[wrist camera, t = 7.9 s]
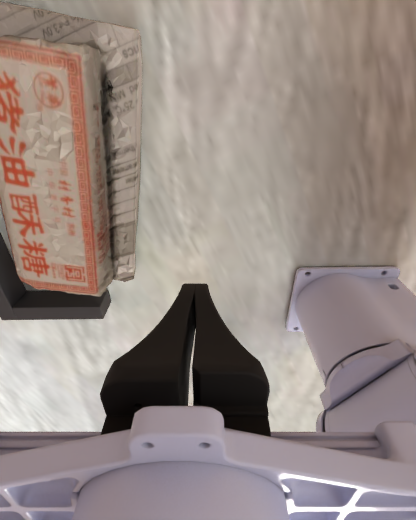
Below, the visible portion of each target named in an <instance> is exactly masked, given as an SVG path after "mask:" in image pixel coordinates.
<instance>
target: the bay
mask: <svg viewBox="0 0 416 520" xmlns="http://www.w3.org/2000/svg"><path fill="white" fill-rule="evenodd" d="M110 303H111V299H110V295H109V291H108V290H106V291H105V292H103V294H102V295H101V296H100V297H98V296H92V295H83V294H80V295H79V294H73V293H67V292H63V291H26V288H25V286H24V284H23V282H22V281H21V280H20V278H19V276H18V274H17V271H16V266H15V264H14V262H13V260H12V258H11V255H10V253H9V251H8V249H7V247H6V245H5V242H4V240H3V238H2V236H1V234H0V317H1V319H2V320H40V319H103V318H104V316H105V314H106V312H107V309H108V307H109V305H110Z"/></svg>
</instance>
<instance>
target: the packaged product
mask: <svg viewBox="0 0 416 520" xmlns="http://www.w3.org/2000/svg"><path fill="white" fill-rule="evenodd" d="M141 115H142V51H141V36H140V32H139V30H137V29H133V28H129V27H124V26H120V25H116V24H110V23H105V22H100V21H94V20H89V19H83V18H78V17H73V16H69V15H64V14H60V13H56V12H52V11H47V10H42V9H37V8H31V7H26V6H21V5H16V4H10V3H5V2H0V203H1V208H2V212H3V216H4V220H5V223H6V229H7V231H8V237H9V241H10V245H11V250H12V254H13V258H14V262H15V266H16V271H17V274H18V276H19V278H20V280H21V281H22V282H25V283H26V284H28V285H31V286H32V287H33V288H35V289H38V290H42V289H48V290H52V291H63V292H67V293H73V294H79V295H80V294H83V295H92V296H98V297H100V296H101V295H102V294H103V292H105V291H106V287H107V286H108V285H109V284H110V283H111V282H112V280H120V281H123V282H126V281H129V280H131V279H134V274H135V241H136V230H137V219H138V205H139V190H140V163H141Z"/></svg>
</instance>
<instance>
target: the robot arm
mask: <svg viewBox="0 0 416 520" xmlns="http://www.w3.org/2000/svg"><path fill="white" fill-rule="evenodd" d="M383 271H384V272H383ZM306 272H309V273H308V274H305V273H306ZM382 272H383V273H382ZM399 274H400V269H399V268H397V267H395V266H388V267H304V268H299V269H298V270H297V271H296V275H295V280H294V285H293V291H292V296H291V301H290V306H289V311H288V317H287V322H286V330H287V331H290V332H299V331H303V332H304V335H305V337H306V340H307V342H308V345H309V347H310V350H311V352H312V355H313V357H314V360H315V362H316V365H317V367H318V370H319V372H320V375H321V377H322V380H323V382H324V385H325V387H326V389H325V390H324V391H323V392H322V393H321V394H320V398H321V401H322V403H323V406H324V409H325V410H324V411H323V412H321V413H320V415H319V416H318V418H317V422H316V432H270V427H269V421H268V408H267V401H268V397H269V392H270V389H269V382H268V379H267V377H266V374H265V372H264V369H263V367H262V365H261V363H260V361H258V360H257V359H256V358H255V357H254V356H252V355H251V354H250V353H249V352H248V351H247V350H246V349H245V348H244V347H243V346H242V345H241V344H240V343H239V341H238V340H237V339H236V338H235V337H234V336H233V335H232V333H231V332H230V331H229V329H228V328H227V326H226V325H225V323H224V322H223V320H222V319H221V317H220V315H219V313H218V311H217V310H216V307H215V305H214V303H213V301H212V298H211V296H210V293H209V289H208V285H207V284H183V285H182V288H181V290H180V292H179V294H178V296H177V298H176V300H175V301H174V303H173V305H172V306H171V308H170V309H169V311H168V312H167V313H166V315H165V316H164V318H163V319H162V320H161V321H160V323H159V324H158V325H157V326H156V327H155V328H154V329H153V330H152V331H151V332H150V333H149V334H148V335H147V336H146V337H145V338H144V339H143V340H142V341H141V342H140V343H139V344H137V345H136V346H135V347H134V348H133V349H131V350H130V351H129V352H127V353H126V354H124V355H123V356H121V357H120V358H118V359H117V360H115V361H114V362H113V364H112V366H111V368H110V370H109V372H108V374H107V376H106V378H105V381H104V384H103V387H102V390H101V393H100V397H101V401H102V404H103V407H104V410H105V412H106V415H107V416H106V419H105V422H104V426H103V429H102V432H0V520H416V296H415V295H414V294H413V293H412V292H411V291H410V290H409V289H408V288H407V287H406V286H405V285H404V284H403V283H402V282H401V281H400V280H399V279H398V276H399ZM294 327H295V328H294ZM195 328H196V334H195ZM194 334H195V346H194V356H193V365H192V373H193V396H194V401H193V406H188V393H189V372H190V361H191V354H192V348H193V341H194Z"/></svg>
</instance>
